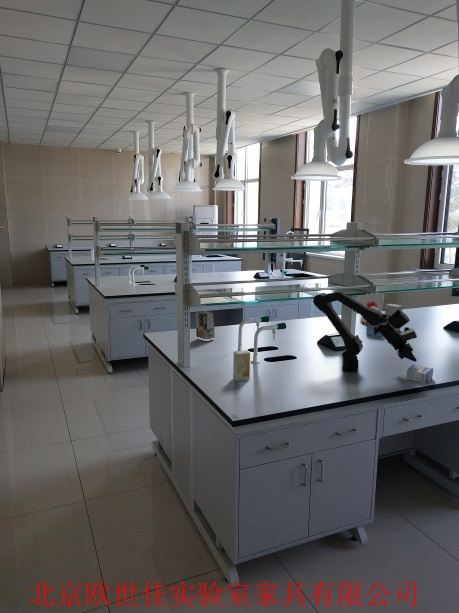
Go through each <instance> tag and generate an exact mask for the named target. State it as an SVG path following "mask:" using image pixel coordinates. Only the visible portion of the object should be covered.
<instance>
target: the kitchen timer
mask: <svg viewBox="0 0 459 613" xmlns="http://www.w3.org/2000/svg"><path fill="white" fill-rule="evenodd" d="M378 305H379V304H377V302H376V301H374V300H373V301H372V300H371V301H368V302H366V307H370V308H373V309H376V310H378V311H380V309H379V308H378ZM360 316H361V315H360ZM359 322H361V323H363V324H366V325H365V326H367V321H366V320H365V319H364V318H363V317H362V316H361V317H360V321H359ZM361 323H360V324H361ZM363 324H362V325H363Z"/></svg>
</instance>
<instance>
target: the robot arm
mask: <svg viewBox="0 0 459 613" xmlns="http://www.w3.org/2000/svg"><path fill="white" fill-rule="evenodd" d="M312 302H313V305H314V306H315V307H316V308H317V309H318V310H319V311H320V312H322V313H323V314H325V316H326V318H327V319H328V320H329V322H330V323H331V324H332V326H333V328H334V329H335V331H336V332H337V333H338V335H339V336H340V337H341V338H342V341H343V345H344V347H345V350H344V351H342V353H341V358H342V365H341V370H342V372H352V373H353V372H354V373H358V370H359V361H360V360H359V359H358V355H359V354H360V353H361V352H362V350H363V347H364V345H363V340H361V339H360V336H359V335H358V334H355V335H353V333H351V331H350V330H349V329H348V327H347V326H346V324H345V323H344V321H343V320H342V319H341V317H340V316H339V314H338V313H337V312H336V310H335V309H334V306H333V303H334V302H339V303H341V304H342V305H343V306H344V305H345V306H346V307H348V308H349V309H350V310H352V311H354V312H356V313H357V314H359V315H360V316H362V317H363V318H364V319H365V320H366V321H367V322H368V323H369V324H371V325H373V326H376V325H378V324H380V323H382V324H380V325H379V326H378V327H374V334H377V333H378V332H379V333H380V334H381V335H382V336H381V337H382V338H384V340H386V341H387V343H388V344H390V346H392V348H393V350H395V351H396V354H397V356H398V357H399V358H400V359H401V360H403V359H408V360H410V361H412V362H415V363H416V362H417V358H416V356H415V355H414V354H413V352H414V349H413V347H412V346H411V344H410V343H409V342H408V341H410V340H413V339H416V338H418V335H417V333H416V331H415V329H414V328H412V327H411V328H410V327H408V326H406V327H404V326H405V325H407V324H408V323H410V321H411V320H410V318H409V317H408V315H407V314H406V313H404V312H403V310H402V311H400V309H398V310H397V311H396V312H395V313H393V314H392V315H391V316H390V315H386V314H385V313H383V312H381V311H380V310H379V309H378V310H379V311H378V310H376V309H373V308H370V307H367V305H364V304H363V303H361V302H360V301H358V300H356V299H354V298H353V297H351V296H350V295H347V294H346V293H345V292H344V291H342V290H338V291H333V292H328V293H325V292H320V293H318V294H316V295H315V296H314V297H313V300H312ZM388 320H389V321H388ZM387 321H388V322H387ZM385 322H386V323H385ZM390 324H391V325H392V326H391V325H390ZM394 328H395V329H396V328H398V329H400V330H401V328H403V331H401V332H400V331H396V330H395V329H394Z"/></svg>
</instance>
